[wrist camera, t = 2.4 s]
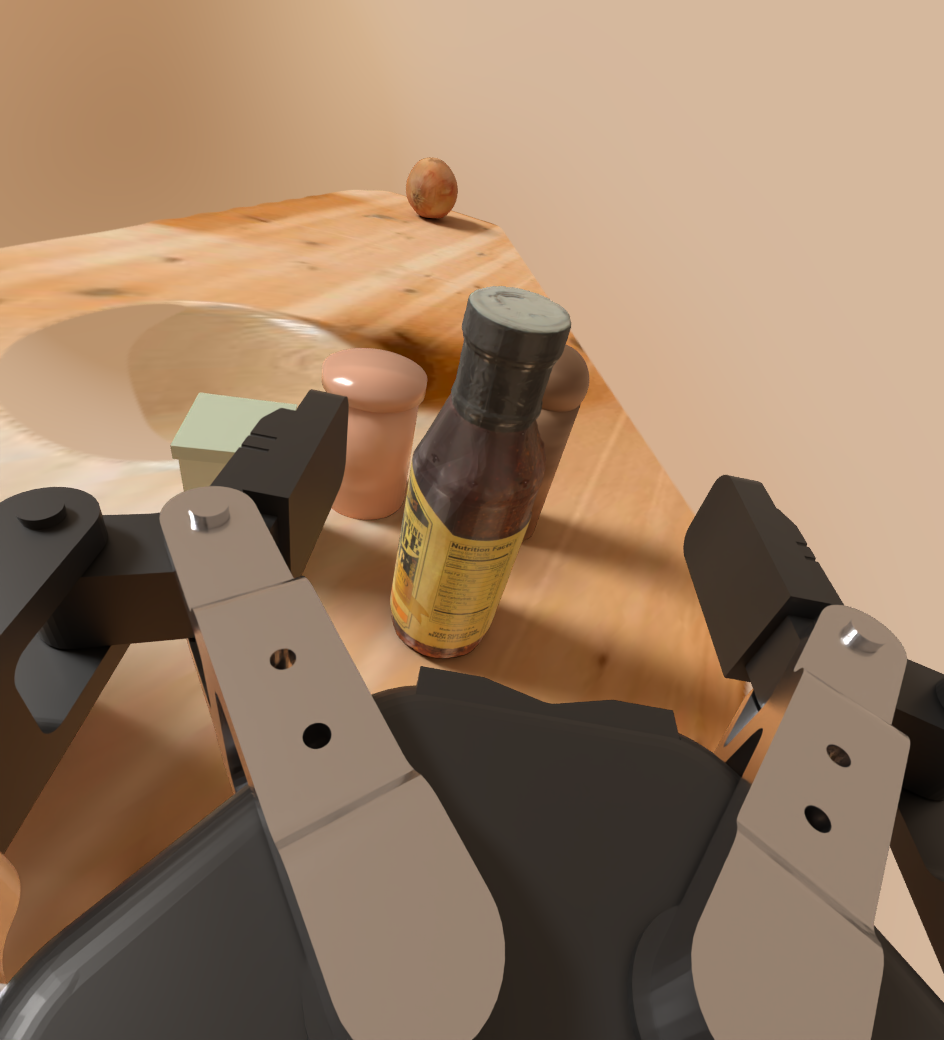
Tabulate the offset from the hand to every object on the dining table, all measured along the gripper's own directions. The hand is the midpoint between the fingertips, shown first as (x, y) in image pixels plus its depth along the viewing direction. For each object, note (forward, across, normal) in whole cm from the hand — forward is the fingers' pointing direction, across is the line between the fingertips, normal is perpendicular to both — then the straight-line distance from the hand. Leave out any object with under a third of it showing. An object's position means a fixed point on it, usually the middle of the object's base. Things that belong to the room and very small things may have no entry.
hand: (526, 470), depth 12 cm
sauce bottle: (+12, 0, +20) cm, 23 cm away
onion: (+110, +15, +19) cm, 113 cm away
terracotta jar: (+23, +8, +20) cm, 31 cm away
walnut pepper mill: (+23, -4, +20) cm, 31 cm away
